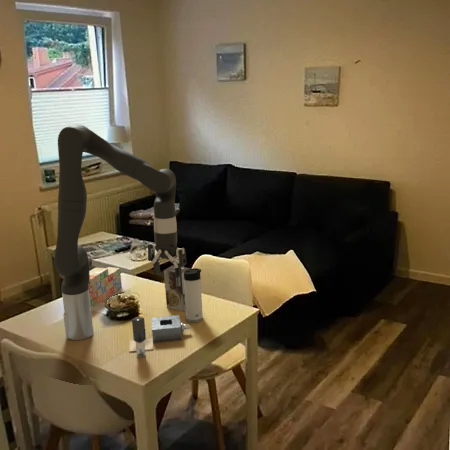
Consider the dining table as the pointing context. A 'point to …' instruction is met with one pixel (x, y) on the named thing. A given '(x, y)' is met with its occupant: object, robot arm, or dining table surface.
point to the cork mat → (147, 343)
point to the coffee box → (175, 288)
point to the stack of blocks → (103, 283)
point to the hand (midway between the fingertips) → (167, 275)
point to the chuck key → (139, 335)
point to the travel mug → (193, 295)
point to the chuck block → (167, 328)
